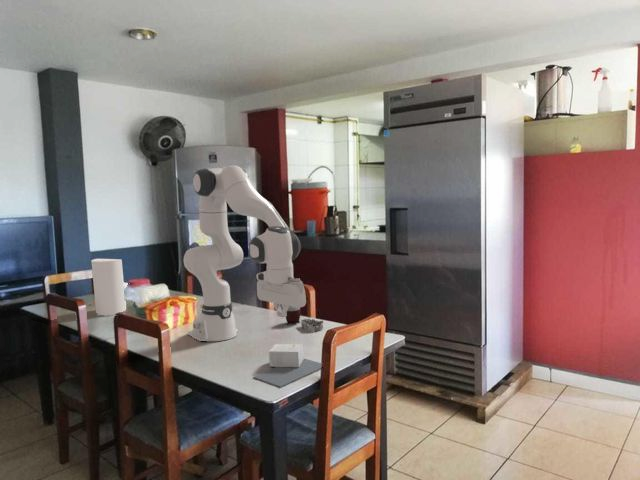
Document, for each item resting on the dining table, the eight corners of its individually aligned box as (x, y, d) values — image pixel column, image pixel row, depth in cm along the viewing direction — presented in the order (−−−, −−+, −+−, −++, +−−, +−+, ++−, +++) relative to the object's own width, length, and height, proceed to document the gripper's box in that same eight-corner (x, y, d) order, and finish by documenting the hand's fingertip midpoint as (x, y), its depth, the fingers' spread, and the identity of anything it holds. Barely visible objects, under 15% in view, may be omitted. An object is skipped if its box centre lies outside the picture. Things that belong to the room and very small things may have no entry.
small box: (269, 366, 168) (298, 367, 166) (268, 351, 167) (298, 351, 165) (275, 358, 176) (304, 359, 174) (275, 343, 175) (303, 344, 173)
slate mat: (253, 377, 160) (253, 376, 160) (300, 358, 176) (300, 357, 176) (280, 387, 151) (280, 386, 151) (327, 366, 167) (327, 365, 167)
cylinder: (112, 317, 246) (107, 262, 243) (88, 314, 253) (83, 261, 250) (139, 308, 261) (134, 256, 258) (115, 306, 269) (111, 256, 266)
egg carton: (324, 330, 209) (324, 321, 209) (308, 333, 206) (308, 324, 206) (315, 324, 219) (315, 315, 219) (299, 327, 216) (299, 317, 216)
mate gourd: (288, 326, 217) (287, 293, 215) (282, 322, 224) (280, 290, 222) (304, 323, 220) (302, 291, 218) (297, 319, 227) (296, 287, 225)
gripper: (309, 277, 157) (311, 319, 159) (266, 271, 171) (268, 309, 173) (295, 281, 153) (297, 324, 155) (252, 274, 166) (254, 313, 168)
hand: (281, 316), depth 164 cm, fingers closed
